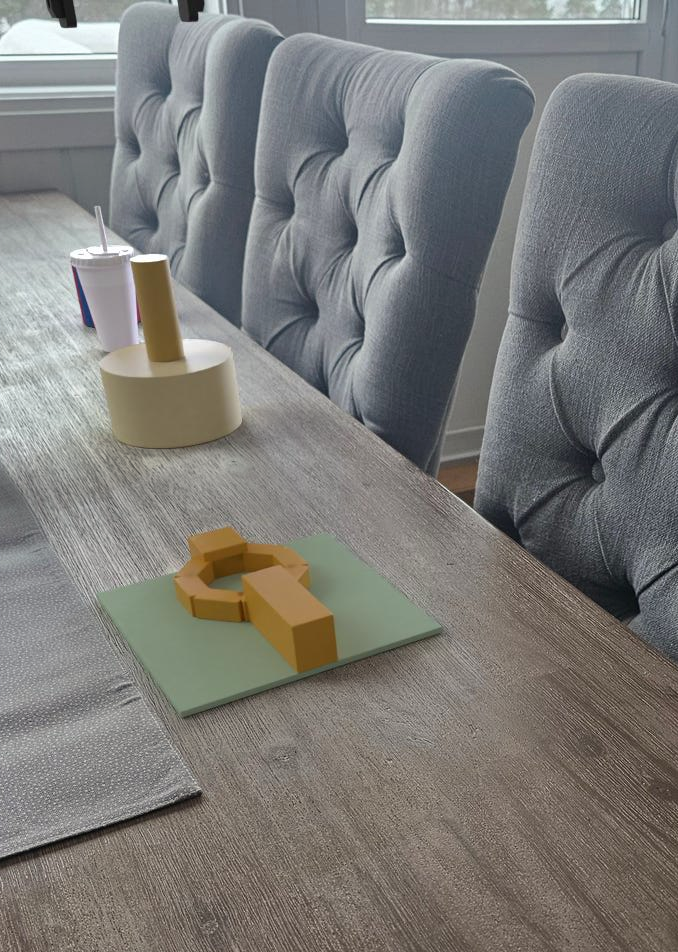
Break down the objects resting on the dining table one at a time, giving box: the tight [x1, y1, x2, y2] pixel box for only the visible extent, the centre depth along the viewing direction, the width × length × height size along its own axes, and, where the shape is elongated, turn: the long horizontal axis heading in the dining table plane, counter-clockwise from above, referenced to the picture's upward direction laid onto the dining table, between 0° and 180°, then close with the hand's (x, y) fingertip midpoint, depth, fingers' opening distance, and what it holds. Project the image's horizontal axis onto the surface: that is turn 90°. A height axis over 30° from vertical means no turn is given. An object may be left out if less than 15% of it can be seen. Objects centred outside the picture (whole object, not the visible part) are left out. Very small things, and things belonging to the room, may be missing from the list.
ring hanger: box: [174, 525, 338, 673], centre depth 68 cm, size 16×8×3 cm, turn 32°
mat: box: [95, 531, 443, 719], centre depth 69 cm, size 16×16×1 cm
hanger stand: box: [98, 253, 243, 449], centre depth 94 cm, size 11×11×14 cm
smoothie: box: [69, 205, 140, 353], centre depth 115 cm, size 6×6×14 cm
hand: (130, 24), depth 78 cm, fingers open, 8 cm apart
